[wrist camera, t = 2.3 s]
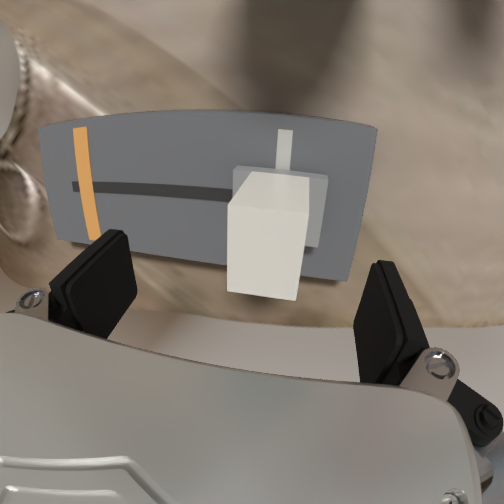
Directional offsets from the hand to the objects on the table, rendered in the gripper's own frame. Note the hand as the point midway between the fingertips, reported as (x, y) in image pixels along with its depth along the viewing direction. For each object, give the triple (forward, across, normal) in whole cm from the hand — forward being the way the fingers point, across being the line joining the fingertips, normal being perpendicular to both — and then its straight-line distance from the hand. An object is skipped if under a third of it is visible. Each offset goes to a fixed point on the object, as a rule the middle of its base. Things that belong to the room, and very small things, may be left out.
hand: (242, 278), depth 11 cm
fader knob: (+7, -1, 0) cm, 7 cm away
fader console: (+10, +6, 0) cm, 12 cm away
